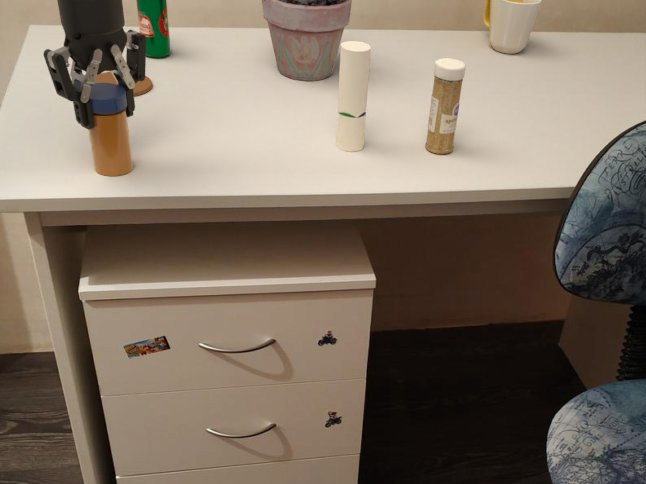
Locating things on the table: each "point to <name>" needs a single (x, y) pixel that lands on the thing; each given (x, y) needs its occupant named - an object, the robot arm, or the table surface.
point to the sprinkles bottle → (444, 105)
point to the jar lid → (107, 98)
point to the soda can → (154, 27)
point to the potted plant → (306, 35)
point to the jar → (111, 144)
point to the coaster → (139, 88)
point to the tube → (352, 95)
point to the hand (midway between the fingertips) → (107, 120)
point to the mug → (510, 23)
